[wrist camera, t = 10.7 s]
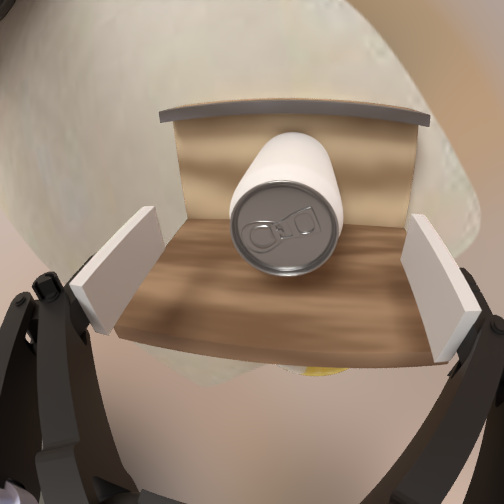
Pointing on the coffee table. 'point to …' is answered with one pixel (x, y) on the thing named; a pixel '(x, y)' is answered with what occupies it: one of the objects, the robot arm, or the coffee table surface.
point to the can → (287, 207)
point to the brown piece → (298, 287)
